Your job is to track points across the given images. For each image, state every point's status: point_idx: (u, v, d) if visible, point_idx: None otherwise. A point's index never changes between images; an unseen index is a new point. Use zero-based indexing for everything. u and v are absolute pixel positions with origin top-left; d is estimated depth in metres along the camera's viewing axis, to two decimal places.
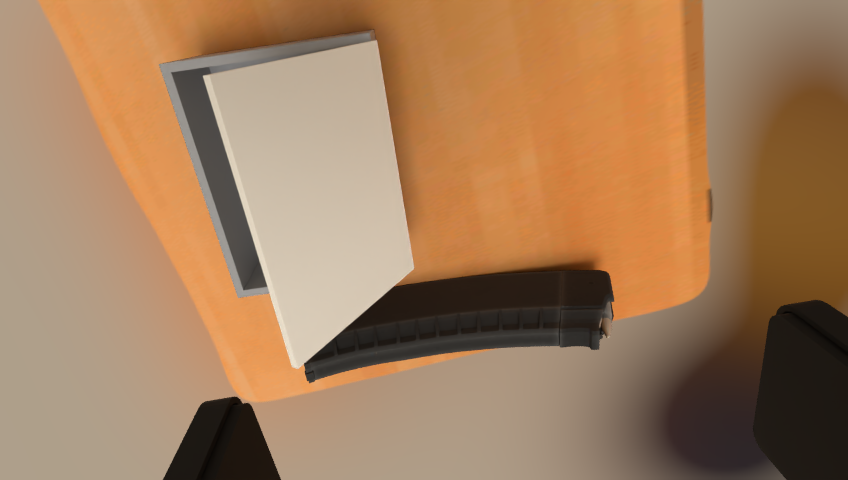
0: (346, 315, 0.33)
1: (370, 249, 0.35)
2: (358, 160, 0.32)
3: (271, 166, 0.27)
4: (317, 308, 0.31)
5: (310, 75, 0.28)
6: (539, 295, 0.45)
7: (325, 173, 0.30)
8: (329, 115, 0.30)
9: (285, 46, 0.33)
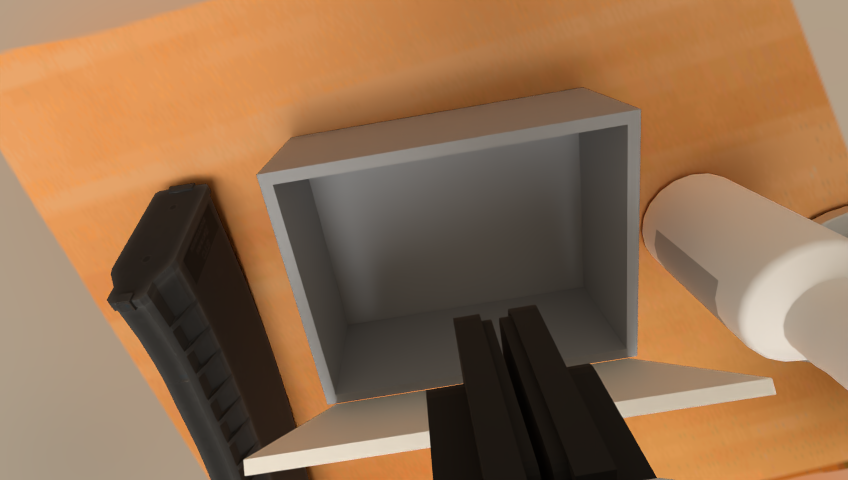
0: None
1: None
2: None
3: None
4: None
5: None
6: None
7: None
8: None
9: (637, 270, 0.26)
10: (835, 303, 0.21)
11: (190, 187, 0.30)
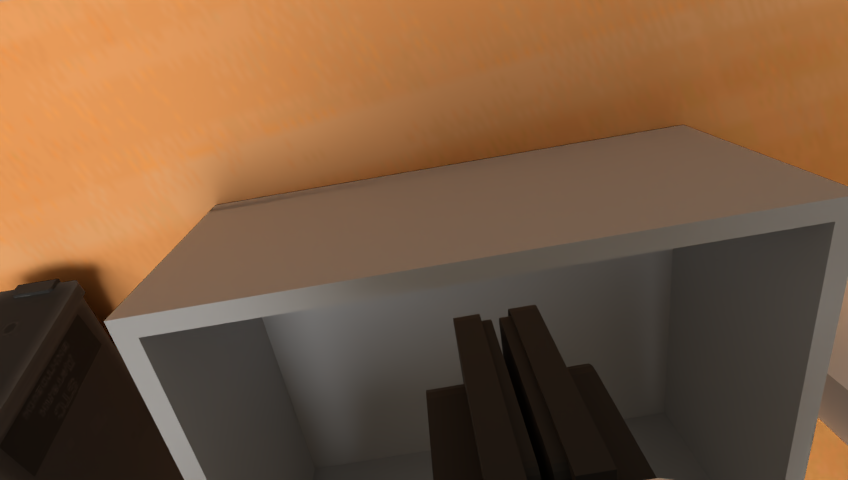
0: None
1: None
2: None
3: None
4: None
5: None
6: None
7: None
8: None
9: (806, 456, 0.15)
10: None
11: (48, 288, 0.18)
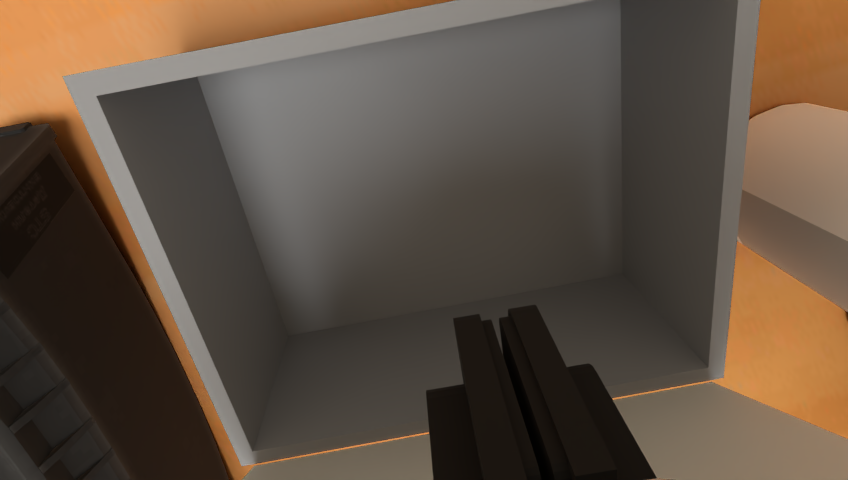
0: None
1: None
2: None
3: None
4: None
5: None
6: None
7: None
8: None
9: (734, 241, 0.16)
10: None
11: (20, 128, 0.19)
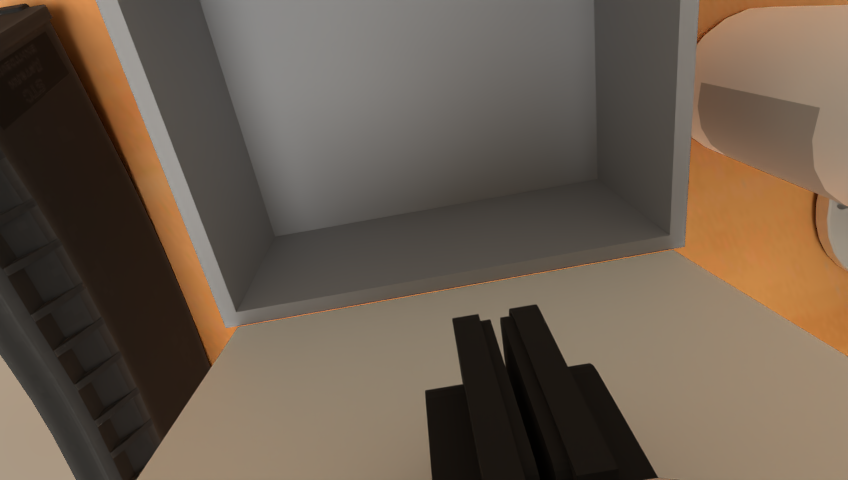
0: None
1: None
2: None
3: None
4: None
5: None
6: None
7: None
8: None
9: (691, 99, 0.17)
10: None
11: (18, 7, 0.20)
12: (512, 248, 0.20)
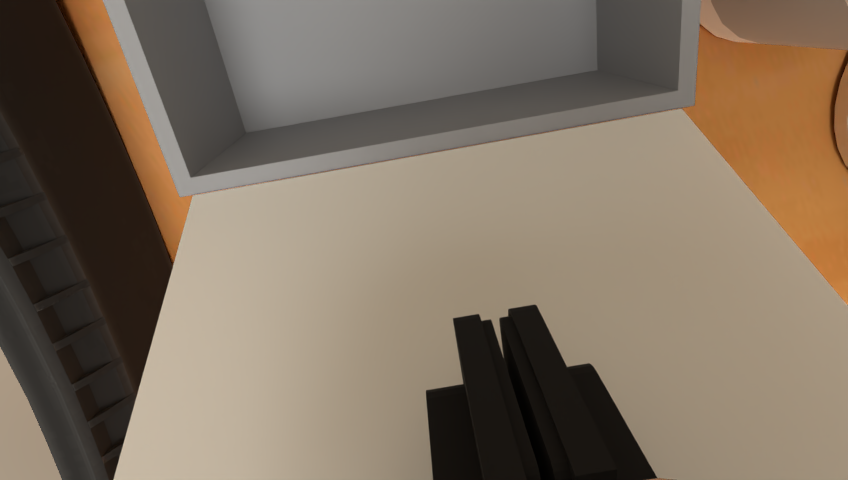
0: None
1: None
2: None
3: None
4: None
5: None
6: None
7: None
8: None
9: None
10: None
11: None
12: (501, 114, 0.18)
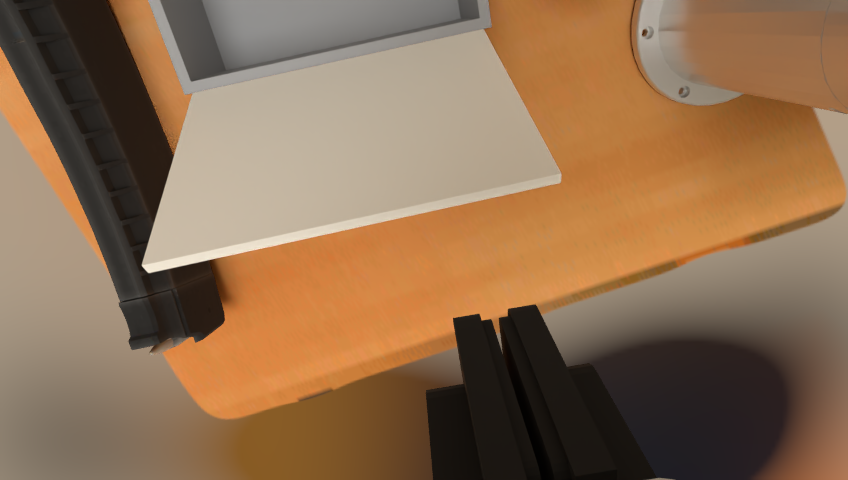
0: None
1: None
2: None
3: None
4: None
5: None
6: None
7: None
8: None
9: None
10: None
11: None
12: (380, 39, 0.29)
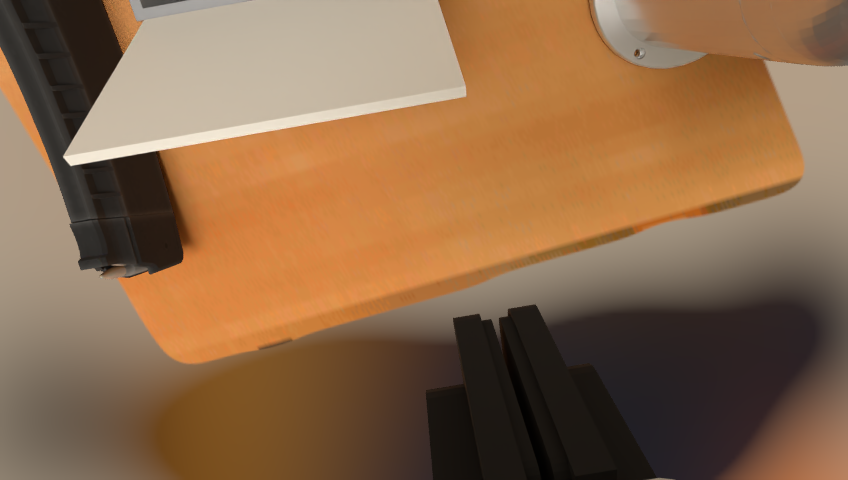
0: None
1: None
2: None
3: None
4: None
5: None
6: (136, 189, 0.36)
7: None
8: None
9: None
10: None
11: None
12: None
